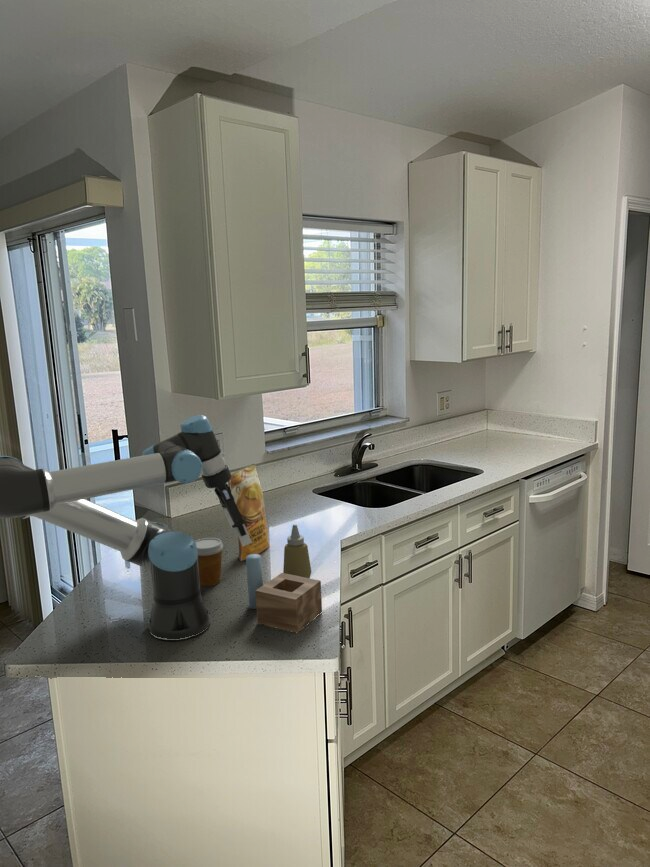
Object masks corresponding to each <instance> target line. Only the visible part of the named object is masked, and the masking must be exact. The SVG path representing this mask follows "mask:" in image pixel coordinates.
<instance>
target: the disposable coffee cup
mask: <svg viewBox="0 0 650 867" xmlns="http://www.w3.org/2000/svg"><path fill="white" fill-rule="evenodd" d="M195 542H196V547H197V549H198V550H197V551H198V567H199V580H200V586H203V587H209V586H215V585H217V584H220V582H221V578H222V577H221V573H222V556H223V548H224V544H223V542H222V540H221V539H220V538H217V537H205V538H204V537H202V538H199V539H196V540H195Z"/></svg>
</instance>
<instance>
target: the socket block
mask: <svg viewBox="0 0 650 867" xmlns="http://www.w3.org/2000/svg"><path fill="white" fill-rule="evenodd" d="M321 581H322V580H319V579H314V578H311V577H310V578H305V577H300V576H295V575H290V574H285V573H283V572H281V573H279V574H278V575H276V576H275V577H273V578H272V579H271V580H269V581H267V582H266V583H265V584H264V583H263V586H261V587H260V588H258V589H257V590H255V592H256V607H257V609H256V617H257V618H256V620H257V621H256V622H257V624H258V623H259V624H258V625H262V624H264V625H263V626H266V625H267V626H266V627H270V626H272V627H271V628H274V627H277V628H280V629H279V630H281V629H284V630H283V631H285V630H288V631H287V632H289V631H292V632H291V633H293V632H297V633H298V632H299V631H300V630H301V629H302V628H303V627H305V626H306V625H307V624H308V623H310V622H311V621H312V620H313V619H314V618H315V617H316V616H317V615H318V614H320V613H321V612H322V613H323V605H322V604H323V603H322V602H323V601H322V582H321ZM320 615H321V614H320ZM314 620H315V619H314ZM314 620H313V621H314ZM313 621H312V622H313ZM312 622H311V623H312ZM308 625H309V624H308ZM308 625H307V626H308ZM307 626H306V627H307ZM306 627H305V628H306ZM277 628H276V629H277ZM302 630H303V629H302ZM302 630H301V631H302ZM301 631H300V632H301ZM300 632H299V633H300ZM297 633H296V634H297ZM299 633H298V634H299Z"/></svg>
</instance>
